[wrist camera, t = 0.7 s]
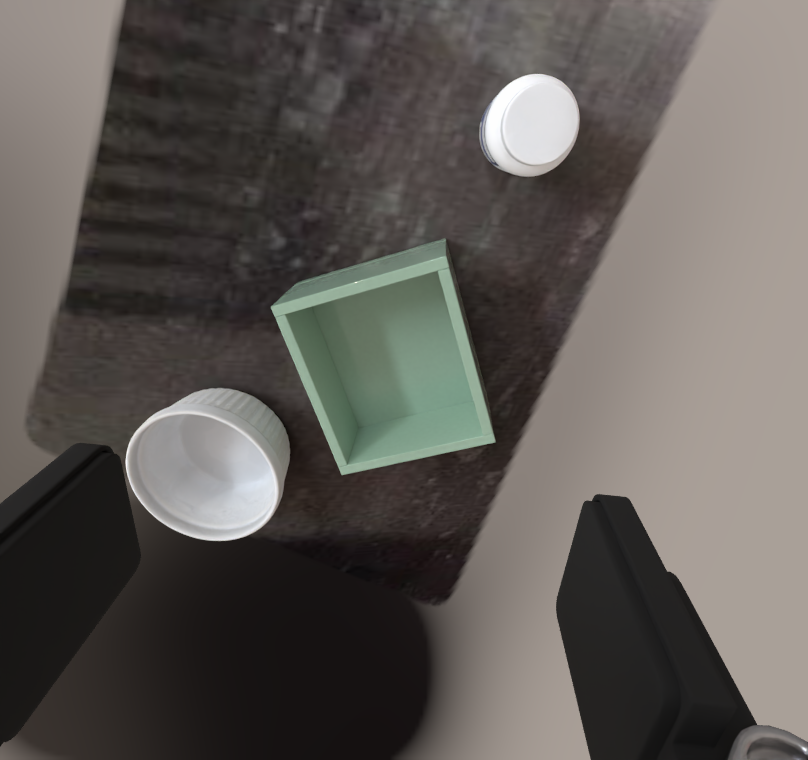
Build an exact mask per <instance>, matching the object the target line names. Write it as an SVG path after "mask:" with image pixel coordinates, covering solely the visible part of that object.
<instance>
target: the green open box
mask: <svg viewBox="0 0 808 760" xmlns="http://www.w3.org/2000/svg"><path fill="white" fill-rule="evenodd" d="M271 309H272V311H273V314H274V316H275V317H276V320H277V323H278V325H279V328H280V330H281V332H282V335H283V337H284V339H285V342H286V344H287V347H288V349H289V351H290V354H291V356H292V358H293V361H294V363H295V365H296V368H297V370H298V373H299V375H300V377H301V380H302V382H303V384H304V387H305V389H306V391H307V394H308V396H309V399H310V401H311V403H312V406H313V408H314V410H315V413H316V415H317V417H318V420H319V422H320V425H321V427H322V429H323V432H324V434H325V436H326V439H327V441H328V443H329V446H330V448H331V451H332V453H333V455H334V458H335V460H336V462H337V465H338V467H339V470H340V472H341V475H345V474H350V473H354V472H359V471H364V470H368V469H373V468H378V467H382V466H387V465H392V464H396V463H401V462H406V461H410V460H415V459H420V458H424V457H429V456H434V455H438V454H443V453H448V452H452V451H457V450H462V449H466V448H471V447H476V446H481V445H485V444H490V443H495V442H496V441H495V435H494V429H493V424H492V418H491V412H490V406H489V400H488V396H487V393H486V389H485V385H484V381H483V377H482V374H481V370H480V366H479V362H478V358H477V355H476V351H475V347H474V343H473V339H472V336H471V332H470V328H469V324H468V320H467V317H466V313H465V309H464V305H463V301H462V298H461V294H460V290H459V286H458V282H457V279H456V275H455V271H454V267H453V263H452V260H451V256H450V252H449V248H448V244H447V240H446V238H445V239H442V240H438V241H435V242H431V243H428V244H425V245H421V246H418V247H415V248H411V249H408V250H405V251H401V252H398V253H394V254H391V255H388V256H384V257H381V258H378V259H374V260H371V261H368V262H364V263H361V264H357V265H354V266H351V267H347V268H344V269H341V270H337V271H334V272H331V273H327V274H324V275H320V276H317V277H314V278H310V279H307V280H304V281H300V282H297V283H296V284H295V285H294V286H293V287H292V288H291V289H290V290H289V291H288V292H286V293H285V294H284V295H283V296H282V297H281V298H280V299H279V300H278V301H277V302H276V303H274V304H273V305H272V306H271Z"/></svg>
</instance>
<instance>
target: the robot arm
mask: <svg viewBox="0 0 808 760" xmlns="http://www.w3.org/2000/svg"><path fill="white" fill-rule="evenodd" d="M140 556H141V554H140V548H139V543H138V538H137V534H136V529H135V524H134V520H133V515H132V510H131V506H130V501H129V497H128V492H127V488H126V483H125V478H124V473H123V469H122V464H121V460H120V457H119V456H118V455H117V454H114V452H113V450H112V449H111V448H110V447H109V446H106V445H96V444H86V443H77V444H75V445H73V446H71V447H70V448H69V449H68V450H66V451H65V452H64V453H63V454H61V455H60V456H59V457H58V458H56V459H55V460H54V461H53V462H51V463H50V464H49V465H48V466H46V467H45V468H44V469H43V470H41V471H40V472H39V473H38V474H37V475H35V476H34V477H33V478H32V479H30V480H29V481H28V482H27V483H25V484H24V485H23V486H22V487H20V488H19V489H18V490H17V491H16V492H14V493H13V494H12V495H10V496H9V497H8V498H7V499H5V500H4V501H3V502H2V503H1V504H0V746H1V745H2V744H3V742H7V741H9V740H11V739H12V738H13V737H14V736H16V734H17V733H18V732H19V731H20V730H21V728H22V727H23V726H24V724H25V722H26V721H27V720H28V719H29V717H30V716H31V714H32V713H33V712H34V710H35V709H36V708H37V706H38V705H39V704H40V702H41V701H42V699H43V698H44V697H45V695H46V694H47V693H48V691H49V690H50V688H51V687H52V685H53V684H54V683H55V682H56V680H57V679H58V677H59V676H60V675H61V673H62V672H63V671H64V669H65V668H66V666H67V665H68V664H69V662H70V661H71V660H72V658H73V657H74V655H75V654H76V653H77V651H78V650H79V649H80V647H81V646H82V644H83V643H84V642H85V640H86V639H87V637H88V636H89V635H90V633H91V632H92V631H93V629H94V628H95V626H96V625H97V624H98V622H99V621H100V620H101V618H102V617H103V616H104V614H105V613H106V611H107V610H108V609H109V607H110V606H111V605H112V603H113V602H114V600H115V599H116V598H117V596H118V595H119V593H120V592H121V591H122V589H123V588H124V587H125V585H126V584H127V583H128V581H129V580H130V578H131V577H132V576H133V574H134V573H135V571H136V569H137V568H138V565H139V562H140ZM556 611H557V619H558V623H559V627H560V631H561V635H562V640H563V644H564V648H565V653H566V657H567V661H568V665H569V669H570V674H571V678H572V682H573V686H574V690H575V694H576V698H577V703H578V707H579V711H580V716H581V720H582V724H583V729H584V733H585V737H586V741H587V746H588V749H589V754H590V758H591V760H808V742H807V741H805V740H803V739H801V738H799V737H797V736H796V735H794V734H792V733H790V732H788V731H785V730H782V729H779V728H775V727H772V726H763V725H757V723H756V721H755V720H754V718H753V716H752V714H751V712H750V711H749V709H748V707H747V705H746V703H745V701H744V699H743V697H742V695H741V694H740V692H739V690H738V688H737V686H736V684H735V683H734V681H733V679H732V677H731V675H730V673H729V671H728V669H727V668H726V666H725V664H724V662H723V660H722V658H721V656H720V655H719V653H718V651H717V649H716V647H715V646H714V643H713V642H712V640H711V638H710V636H709V634H708V632H707V630H706V629H705V627H704V625H703V623H702V621H701V619H700V617H699V616H698V614H697V612H696V610H695V608H694V606H693V604H692V603H691V601H690V599H689V597H688V595H687V593H686V591H685V590H684V588H683V586H682V584H681V582H680V581H679V579H678V578H677V577H676V576H675V575H674V574H673V573H671V572H667V571H666V569H665V567H664V565H663V563H662V561H661V559H660V557H659V555H658V553H657V551H656V549H655V547H654V546H653V544H652V542H651V540H650V538H649V536H648V534H647V532H646V530H645V528H644V526H643V524H642V523H641V521H640V519H639V517H638V515H637V513H636V511H635V509H634V507H633V505H632V503H631V501H630V500H629V499H628V498H627V497H620V496H611V495H600V494H597V495H595V496H594V498H593V500H592V501H585V502H584V503H583V506H582V510H581V513H580V517H579V520H578V524H577V528H576V531H575V535H574V538H573V542H572V545H571V549H570V553H569V556H568V560H567V564H566V567H565V571H564V575H563V578H562V582H561V586H560V589H559V592H558V596H557V602H556Z"/></svg>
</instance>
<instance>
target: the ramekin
mask: <svg viewBox="0 0 808 760" xmlns="http://www.w3.org/2000/svg"><path fill="white" fill-rule="evenodd" d="M289 446H290V443H289V440H288V435H287V433H286V429H285V428H284V426H283V424H282V422H281V421H280V419H279V418H278V417H277V416H276V415H275V413H274V412H273V411H272V410H271V409H270V408H269V407H268V406H267V405H265V404H264V403H262V402H261V401H260V400H258V399H256V398H255V397H253V396H251V395H248V394H247V393H243V392H240V391H238V390H232V389H223V388H217V389H213V388H210V389H208V390H201V391H199V392H195V393H192V394H190V395H189V396H187V397H185V398H183V399H181V400H180V401H178V402H177V403H175V404H174V405H172V406H171V407H168V408H165V409H163V410H161V411H159V412H157V413H156V414H154V415H152V416H151V417H150V418H149V419H148V420H146V421H145V422H144V423H143V424H142V425H141V426H140V428H139V429H138V430H137V431H136V432H135V434H134V435H133V437H132V439H131V441H130V443H129V446H128V449H127V453H126V471H127V475H128V479H129V482H130V484H131V487H132V489H133V491H134V493H135V494H136V496H137V498H138V499H139V500H140V502H141V503H142V504H143V506H145V508H146V509H147V510H148V511H149V512H150V513H151V514H152V515H153V516H154V517H155V518H157V519H158V520H159V521H161V522H162V523H164V524H165V525H167V526H168V527H170V528H172V529H174V530H176V531H178V532H180V533H182V534H185V535H188V536H191V537H194V538H199V539H203V540H212V541H226V540H234V539H238V538H242V537H245V536H248V535H250V534H252V533H254V532H256V531H257V530H259V529H260V528H261V527H263V526H264V525H265V524H266V523H267V522H268V521H269V520H270V518H271V517H272V516H273V514H274V512H275V511H276V509H277V507H278V505H279V503H280V501H281V498H282V494H283V489H284V480H285V477H286V473H287V469H288V465H289V461H290V447H289Z"/></svg>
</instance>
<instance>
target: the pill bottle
mask: <svg viewBox="0 0 808 760" xmlns="http://www.w3.org/2000/svg"><path fill="white" fill-rule="evenodd" d="M579 122H580V117H579V109H578V105H577V102H576V99H575V97H574V95H573V93H572V92H571V90H570V89H569V88H568V87H567V86H566V85H565V84H564V83H563V82H561V81H560V80H558V79H556V78H554V77H552V76H548V75H544V74H531V75H526V76H523V77H520V78H518V79H516V80H514V81H513V82H511V83H510V84H508V85H507V86H506V87H505V88H504V89H503V90H502V91H501V92H500V93H499V94H498V95H497V96H496V97H495V98H494V99H493V100H492V101H491V103H490V104H489V105H488V107H487V108H486V110H485V112H484V114H483V117H482V120H481V123H480V129H479V138H480V144H481V148H482V151H483V153H484V155H485V156H486V158H487V159H488V160H489V162H490V163H492V164H493V165H494V166H495V167H497V168H498V169H500V170H503V171H505V172H508V173H511V174H514V175H517V176H522V177H533V176H538V175H541V174H544V173H546V172H548V171H550V170H552V169H554V168H555V167H556V166H558V165H559V164H560V163H561V162H562V161H563V160H564V159H565V158H566V157H567V155H568V154H569V152H570V151H571V149H572V147H573V145H574V143H575V141H576V138H577V135H578V130H579Z"/></svg>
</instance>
